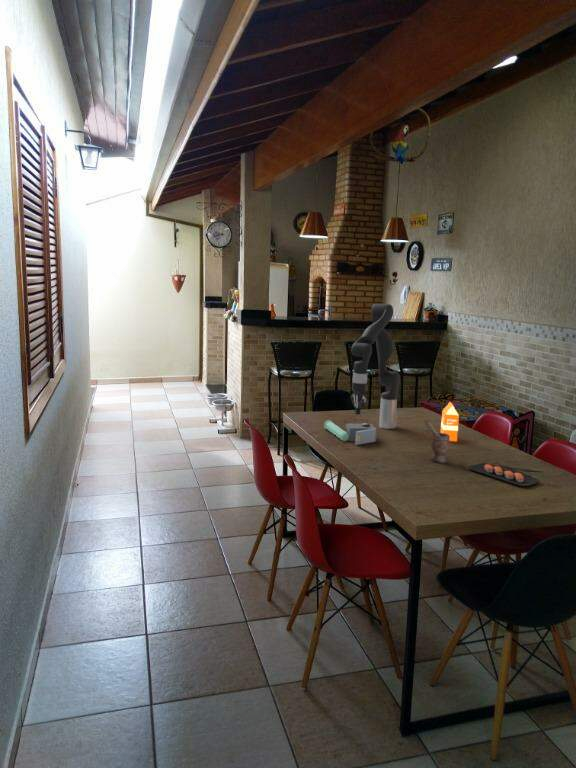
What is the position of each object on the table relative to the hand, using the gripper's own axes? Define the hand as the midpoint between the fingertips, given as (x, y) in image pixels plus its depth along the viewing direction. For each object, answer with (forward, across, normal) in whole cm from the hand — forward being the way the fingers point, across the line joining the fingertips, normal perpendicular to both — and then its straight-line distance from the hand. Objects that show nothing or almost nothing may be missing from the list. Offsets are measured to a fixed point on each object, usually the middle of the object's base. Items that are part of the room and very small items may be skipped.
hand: (357, 414), depth 298 cm
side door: (+15, -3, -5) cm, 16 cm away
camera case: (+15, +6, -7) cm, 18 cm away
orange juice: (+15, -11, -54) cm, 57 cm away
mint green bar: (+16, +16, +2) cm, 23 cm away
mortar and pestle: (+16, -39, -19) cm, 47 cm away
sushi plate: (+16, -67, -41) cm, 80 cm away
